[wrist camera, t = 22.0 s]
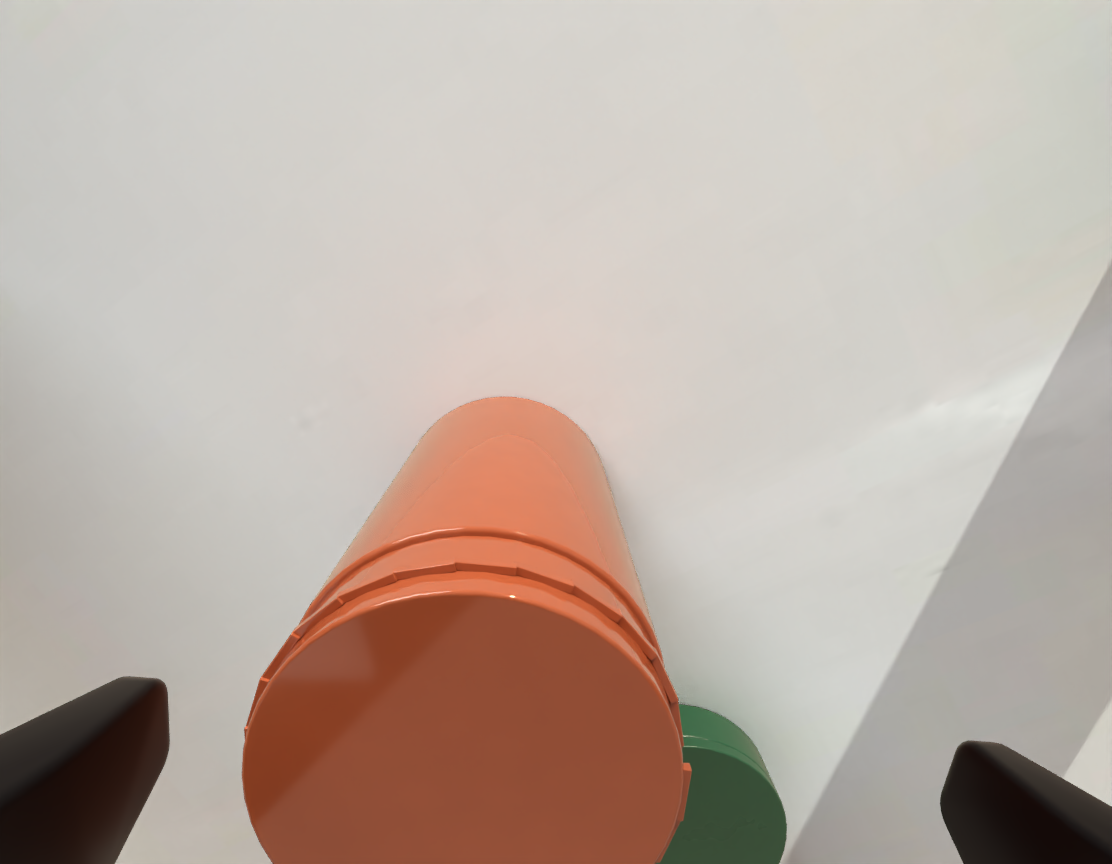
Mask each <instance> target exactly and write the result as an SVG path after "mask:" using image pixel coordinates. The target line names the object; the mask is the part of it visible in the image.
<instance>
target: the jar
mask: <svg viewBox="0 0 1112 864" xmlns="http://www.w3.org/2000/svg"><path fill="white" fill-rule="evenodd" d="M244 732H245V743H244V747H243V762H242V781H243V790H244V799H245V803H246V807H247V810H248V814H249V817H250V821H251V824H252V826H253V828H254V831H255V833H256V835H257V837H258V840H259V842H260V844H261V846H262V847H263V849H264V851H265V852H266V854H267V855H268V857H269V858H270V860H271V862H272V863H273V864H656V863H657V862H658V863H660V862H661V860H662V858H663V856H664V854H665V852H666V850H667V848H668V846H669V844H670V842H671V840H672V838H673V836H674V834H675V832H676V830H677V828H678V826H679V824H680V822H681V821H683V819H684V813H685V807H686V802H687V796H688V790H689V785H690V779H691V773H692V769H691V766H690V763H683V753H682V748H683V747H684V741H683V734H682V726H681V719H680V711H679V704H678V697H677V694H676V691H675V689H674V687H673V685H672V683H671V681H670V679H669V676H668V674H667V672H666V670H665V667H664V662H663V657H662V653H661V649H660V646H659V643H658V639H657V636H656V633H655V630H654V627H653V623H652V620H651V617H650V614H649V611H648V608H647V604H646V601H645V598H644V595H643V592H642V588H641V585H640V582H639V579H638V576H637V573H636V569H635V566H634V563H633V560H632V557H631V553H630V550H629V547H628V544H627V541H626V538H625V534H624V531H623V528H622V525H621V522H620V518H619V515H618V512H617V509H616V506H615V503H614V499H613V496H612V493H611V490H610V487H609V484H608V480H607V477H606V474H605V471H604V468H603V465H602V462H601V460H600V457H599V455H598V453H597V451H596V449H595V447H594V445H593V444H592V442H591V441H590V439H589V438H588V437H587V435H586V434H585V433H584V432H583V431H582V430H581V429H580V428H579V427H578V425H577V424H575V423H574V422H573V421H572V420H570V419H569V418H568V417H567V416H565V415H564V414H562V413H560V412H559V411H557V410H555V409H554V408H551V407H549V406H547V405H545V404H542V403H539V402H536V401H532V400H529V399H523V398H517V397H493V398H485V399H481V400H477V401H473V402H470V403H468V404H465V405H462V406H460V407H458V408H456V409H454V410H453V411H451V412H449V413H448V414H446V415H445V416H443V417H442V418H441V419H439V420H438V421H437V422H436V423H435V424H434V425H433V426H432V427H431V428H429V429H428V431H427V432H426V433H425V434H424V436H423V437H422V438H421V440H420V441H419V442H418V444H417V445H416V447H415V448H414V450H413V451H412V453H411V454H410V456H409V457H408V459H407V460H406V462H405V463H404V465H403V466H402V468H401V469H400V471H399V472H398V474H397V475H396V477H395V478H394V480H393V481H392V483H391V484H390V486H389V487H388V489H387V490H386V492H385V493H384V495H383V496H382V498H381V499H380V501H379V502H378V504H377V505H376V507H375V508H374V510H373V511H372V513H371V514H370V516H369V517H368V519H367V520H366V522H365V523H364V525H363V526H362V528H361V529H360V531H359V532H358V534H357V535H356V537H355V538H354V540H353V541H352V543H351V544H350V546H349V547H348V549H347V550H346V552H345V553H344V555H343V556H342V558H341V559H340V561H339V562H338V564H337V565H336V567H335V568H334V570H333V571H332V573H331V574H330V576H329V577H328V579H327V580H326V582H325V583H324V585H323V586H322V588H321V589H320V591H319V592H318V594H317V595H316V597H315V598H314V600H313V601H312V603H311V604H310V606H309V608H308V609H307V611H306V613H305V614H304V616H303V618H302V619H301V621H300V623H299V625H298V626H297V627H296V628H295V629H294V630H293V632H292V633H291V635H290V636H289V638H288V639H287V640H286V642H285V643H284V645H283V646H282V648H281V649H280V651H279V652H278V653H277V655H276V656H275V658H274V659H273V661H272V662H271V664H270V665H269V666H268V668H267V669H266V671H265V672H264V674H263V675H262V677H261V678H260V680H259V684H258V687H257V690H256V694H255V697H254V701H253V704H252V707H251V711H250V714H249V718H248V721H247V724H246V727H245V728H244Z"/></svg>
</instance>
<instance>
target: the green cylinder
mask: <svg viewBox="0 0 1112 864" xmlns="http://www.w3.org/2000/svg"><path fill="white" fill-rule="evenodd" d="M679 711H680V719H681V726H682V734H683V741H684V747H683V748H682V753H683V763H690V766H691V769H692V773H691V779H690V785H689V790H688V796H687V802H686V807H685V813H684V819H683V821H681V822H680V824H679V826H678V828H677V830H676V832H675V834H674V836H673V838H672V840H671V842H670V844H669V846H668V848H667V850H666V852H665V854H664V856H663V858H662V860H661V862H660V863H658V862H657V863H656V864H779V862H780V860H781V857H782V854H783V851H784V847H785V842H786V831H787V824H786V817H785V812H784V809H783V805H782V802H781V800H780V798H779V795H778V793H777V791H776V789H775V787H774V784H773V782H772V780H771V778H770V775H769V773H768V771H767V769H766V767H765V764H764V762H763V760H762V758H761V756H760V754H759V752H758V750H757V748H756V746H755V745H754V743H753V742H752V741H751V739H750V738H749V737H748V736H747V735H746V734H745V733H744V732H743V731H742V730H741V729H740V728H739V727H737V726H736V725H735V724H734V723H732V722H731V721H729V720H728V719H726V718H724V717H722V716H721V715H719V714H716V713H714V712H711V711H709V710H706V709H702V708H699V707H696V706H689V705H682V704H679Z"/></svg>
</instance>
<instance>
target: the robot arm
mask: <svg viewBox="0 0 1112 864" xmlns="http://www.w3.org/2000/svg"><path fill="white" fill-rule="evenodd" d="M169 744H170V736H169V713H168V692H167V687H166V685H165V683H164V682H163V681H162V680H160V679H157V678H144V677H131V676H128V677H120V678H118V679H116V680H113V681H111V682H109V683H107V684H105V685H103V686H101V687H99V688H97V689H95V690H93V691H91V692H88V693H86V694H84V695H82V696H80V697H78V698H76V699H74V700H72V701H70V702H68V703H66V704H64V705H61V706H59V707H57V708H55V709H53V710H51V711H49V712H47V713H45V714H43V715H41V716H39V717H36V718H34V719H32V720H30V721H28V722H26V723H24V724H22V725H20V726H18V727H16V728H14V729H12V730H9V731H7V732H5V733H3V734H1V735H0V864H115V862H116V860H117V858H118V856H119V854H120V852H121V850H122V848H123V846H124V844H125V842H126V840H127V838H128V836H129V834H130V832H131V830H132V828H133V826H134V824H135V822H136V820H137V818H138V817H139V815H140V813H141V811H142V809H143V807H144V805H145V803H146V801H147V799H148V797H149V795H150V793H151V791H152V789H153V787H154V785H155V783H156V781H157V779H158V777H159V775H160V773H161V771H162V769H163V767H164V765H165V762H166V759H167V755H168V752H169ZM940 806H941V812H942V816H943V819H944V822H945V824H946V827H947V829H948V831H949V833H950V835H951V837H952V840H953V842H954V844H955V846H956V848H957V850H958V853H959V855H960V857H961V859H962V861H963V863H964V864H1112V807H1111V806H1109V805H1108V804H1106V803H1104V802H1102V801H1101V800H1099V799H1097V798H1096V797H1094V796H1092V795H1090V794H1089V793H1087V792H1085V791H1083V790H1082V789H1080V788H1078V787H1076V786H1075V785H1073V784H1071V783H1069V782H1068V781H1066V780H1064V779H1062V778H1061V777H1059V776H1057V775H1055V774H1054V773H1052V772H1050V771H1048V770H1047V769H1045V768H1043V767H1041V766H1040V765H1038V764H1036V763H1034V762H1033V761H1031V760H1029V759H1028V758H1026V757H1024V756H1022V755H1021V754H1019V753H1017V752H1015V751H1014V750H1012V749H1010V748H1008V747H1006V746H1004V745H1002V744H999V743H994V742H982V741H965V742H963V743H962V744H960V745H959V746H958V748H957V750H956V752H955V755H954V758H953V761H952V764H951V766H950V769H949V772H948V775H947V778H946V781H945V784H944V787H943V790H942V793H941V798H940Z"/></svg>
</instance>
